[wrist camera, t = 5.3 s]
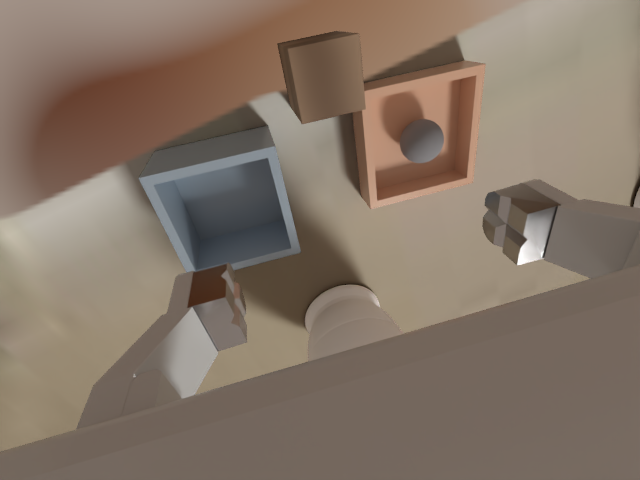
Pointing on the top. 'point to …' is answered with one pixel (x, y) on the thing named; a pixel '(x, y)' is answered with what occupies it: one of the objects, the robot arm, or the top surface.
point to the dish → (402, 109)
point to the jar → (346, 321)
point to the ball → (421, 141)
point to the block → (323, 75)
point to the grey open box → (222, 200)
